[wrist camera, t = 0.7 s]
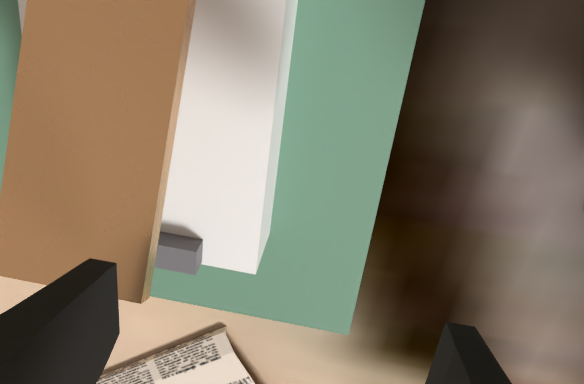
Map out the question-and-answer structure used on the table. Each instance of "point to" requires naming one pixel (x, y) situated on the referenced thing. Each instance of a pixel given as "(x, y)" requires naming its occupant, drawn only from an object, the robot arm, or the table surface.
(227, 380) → the newspaper
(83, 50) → the strip
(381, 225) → the table surface
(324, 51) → the board
